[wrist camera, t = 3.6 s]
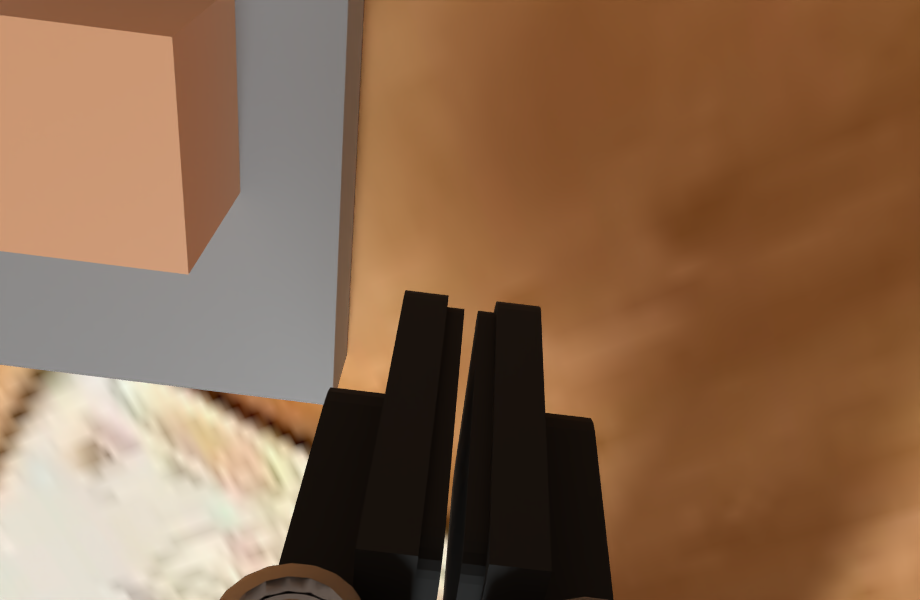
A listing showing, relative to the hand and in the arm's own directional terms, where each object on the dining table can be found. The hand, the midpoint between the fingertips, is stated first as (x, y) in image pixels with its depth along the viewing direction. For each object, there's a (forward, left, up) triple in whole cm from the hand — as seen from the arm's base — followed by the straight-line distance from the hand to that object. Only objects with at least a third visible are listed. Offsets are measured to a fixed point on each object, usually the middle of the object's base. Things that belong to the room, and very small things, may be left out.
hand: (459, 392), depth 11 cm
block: (+8, +1, -11) cm, 14 cm away
